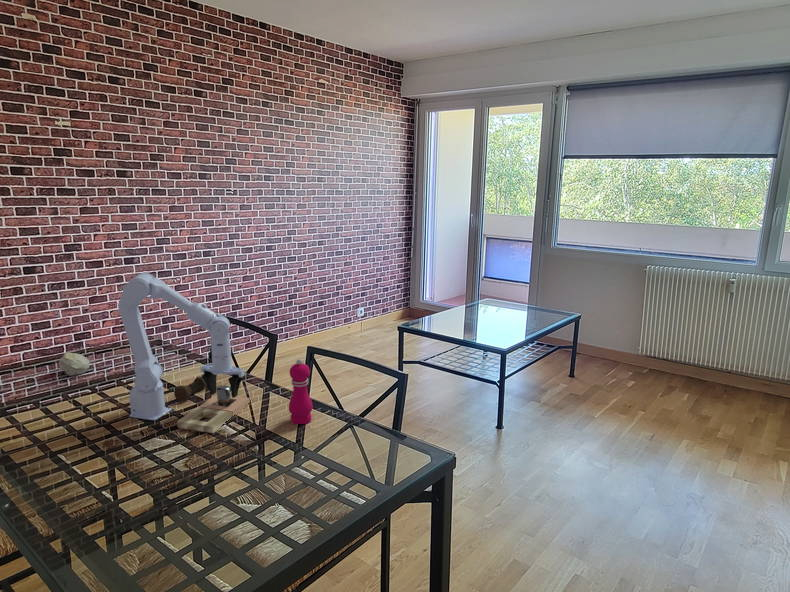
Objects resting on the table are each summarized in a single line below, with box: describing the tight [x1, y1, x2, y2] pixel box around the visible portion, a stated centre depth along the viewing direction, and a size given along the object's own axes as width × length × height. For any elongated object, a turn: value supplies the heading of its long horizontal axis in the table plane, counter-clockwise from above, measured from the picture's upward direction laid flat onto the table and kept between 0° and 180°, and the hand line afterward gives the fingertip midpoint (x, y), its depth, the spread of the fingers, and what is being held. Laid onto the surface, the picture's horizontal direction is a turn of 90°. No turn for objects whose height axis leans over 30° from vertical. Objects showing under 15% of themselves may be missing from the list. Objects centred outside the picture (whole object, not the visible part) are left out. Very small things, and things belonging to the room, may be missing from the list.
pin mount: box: [176, 406, 233, 434], centre depth 156 cm, size 12×10×2 cm
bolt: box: [173, 376, 208, 403], centre depth 177 cm, size 6×5×15 cm
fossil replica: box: [58, 352, 91, 377], centre depth 191 cm, size 12×8×10 cm
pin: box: [216, 384, 232, 407], centre depth 165 cm, size 4×4×7 cm
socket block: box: [198, 393, 251, 417], centre depth 166 cm, size 12×10×2 cm
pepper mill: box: [288, 358, 314, 425], centre depth 156 cm, size 7×7×20 cm
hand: (224, 395), depth 165 cm, fingers open, 7 cm apart
